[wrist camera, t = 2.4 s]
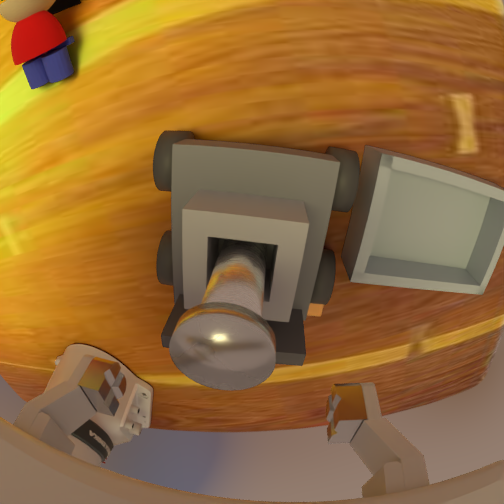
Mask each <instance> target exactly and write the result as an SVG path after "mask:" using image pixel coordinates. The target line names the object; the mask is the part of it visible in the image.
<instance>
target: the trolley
mask: <svg viewBox="0 0 504 504" xmlns="http://www.w3.org/2000/svg"><path fill="white" fill-rule="evenodd" d="M359 174H360V165H359V158H358V155H357V153H356V152H355V151H351V150H346V149H341V148H335V147H328V149H327V151H326V153H325V154H323V153H317V152H310V151H304V150H297V149H290V148H282V147H274V146H266V145H257V144H247V143H237V142H225V141H212V140H195V138H194V135H193V133H192V132H191V131H164V132H163V133H162V134H161V135H160V137H159V139H158V141H157V144H156V148H155V152H154V160H153V175H154V181H155V184H156V187H157V188H158V189H159V190H160V191H171V222H172V231H170V230H168V231H166V232H165V233H164V235H163V236H162V239H161V241H160V245H159V249H158V254H157V277H158V280H159V282H160V283H161V284H166V285H172V286H174V302H175V305H174V307H173V310H172V312H171V314H170V316H169V318H168V321H167V323H166V325H165V327H164V329H163V332H162V334H161V338H162V346H163V347H167V348H169V344H170V340H171V337H172V335H173V332H174V330H175V327H176V325H177V322H178V320H179V319H180V317H181V316H182V315H183V314H184V313H185V312H186V311H187V310H189V309H191V308H192V307H194V306H197V305H200V304H201V303H202V300H203V297H204V294H205V291H206V289H207V286H208V283H209V280H210V278H211V275H212V272H213V269H214V266H215V264H216V261H217V258H218V255H219V253H220V250H221V247H222V245H223V242H224V239H234V240H242V241H250V242H258V243H267V256H266V269H265V283H264V296H263V309H262V318H263V319H264V320H266V322H267V323H268V324H269V325H270V327H271V328H272V330H273V332H274V334H275V338H276V362H275V363H276V364H287V365H299V366H302V365H303V362H304V359H305V356H306V349H305V337H304V325H303V320H306V316H307V315H311V316H321V313H322V310H323V306H324V305H326V304H327V303H328V301H329V299H330V297H331V294H332V290H333V286H334V280H335V255H334V252H333V251H332V250H327V249H323V247H324V242H325V238H326V233H327V228H328V224H329V219H330V214H331V210H335V211H341V212H348V211H349V210H350V209H351V208H352V206H353V203H354V201H355V198H356V194H357V190H358V184H359Z"/></svg>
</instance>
